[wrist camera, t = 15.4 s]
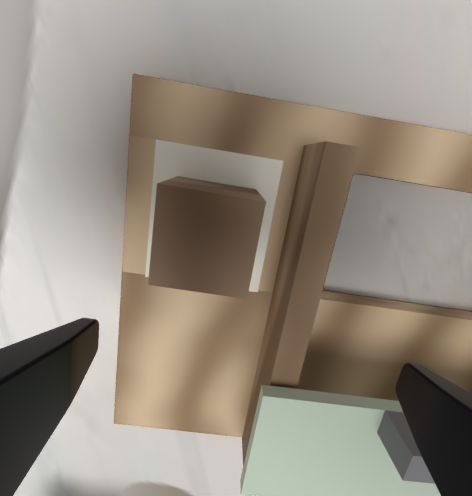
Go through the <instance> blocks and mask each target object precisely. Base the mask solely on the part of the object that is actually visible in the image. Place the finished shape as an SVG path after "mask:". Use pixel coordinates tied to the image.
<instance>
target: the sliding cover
mask: <svg viewBox="0 0 472 496" xmlns="http://www.w3.org/2000/svg"><path fill="white" fill-rule="evenodd" d="M240 481H241V494H243V495H253V496H441V495H440V493H439V491H438V489H437V487H436V485H435V483H434V481H433V479H432V477H431V475H430V473H429V471H428V469H427V467H426V465H425V463H424V461H423V458H422V456H421V454H420V452H419V450H418V448H417V446H416V443H415V441H414V439H413V436H412V433H411V431H410V428H409V426H408V423H407V421H406V418H405V416H404V413H403V410H402V408H401V405H400V403H399V401H394V400H386V399H378V398H369V397H361V396H352V395H344V394H336V393H327V392H319V391H311V390H302V389H294V388H285V387H277V386H269V385H261V390H260V394H259V399H258V403H257V408H256V412H255V417H254V421H253V426H252V430H251V435H250V439H249V444H248V448H247V453H246V457H245V462H244V466H243V471H242V475H241V480H240Z"/></svg>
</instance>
